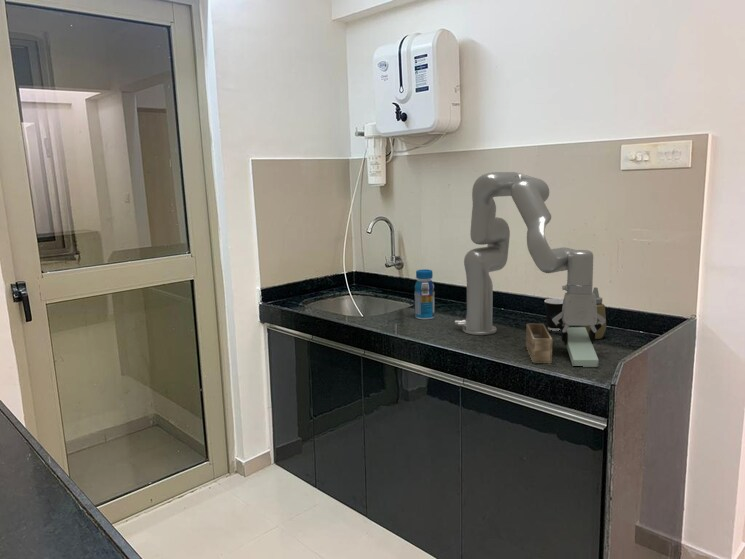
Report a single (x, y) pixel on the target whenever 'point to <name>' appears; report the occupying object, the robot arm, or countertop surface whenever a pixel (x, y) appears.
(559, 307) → the dixie cup
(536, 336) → the box
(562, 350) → the countertop surface
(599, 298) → the squeeze bottle
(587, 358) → the lid
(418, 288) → the beverage bottle
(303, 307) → the countertop surface
